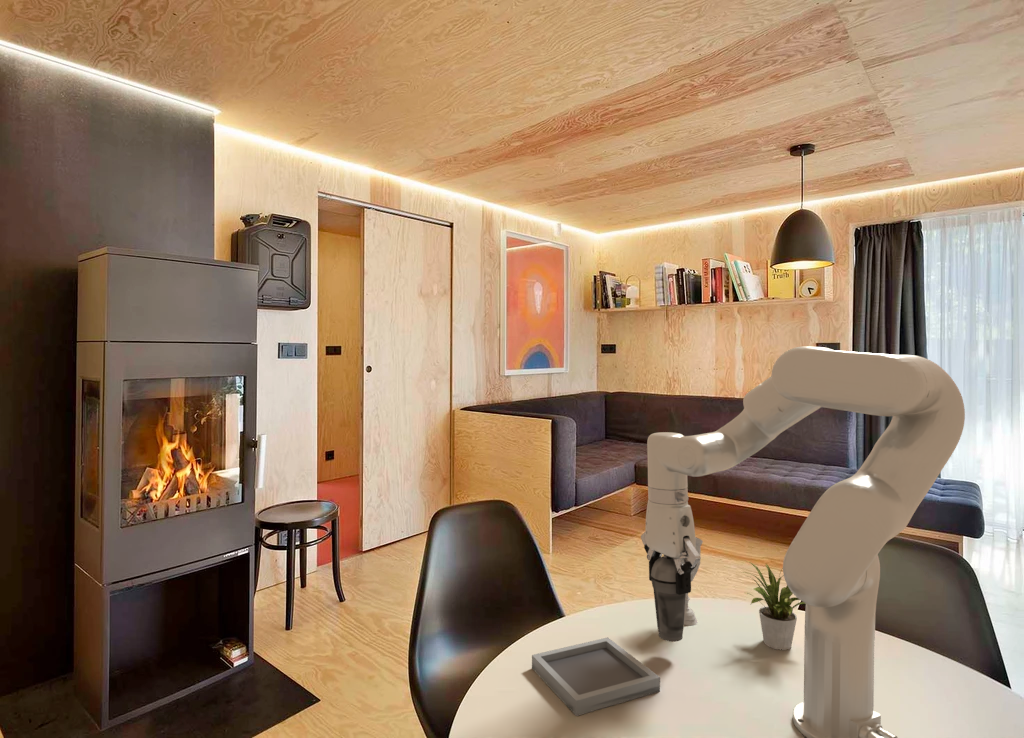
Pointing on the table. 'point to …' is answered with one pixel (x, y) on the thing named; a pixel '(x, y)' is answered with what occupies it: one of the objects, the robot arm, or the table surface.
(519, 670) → the table surface
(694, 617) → the chalice
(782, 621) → the house plant
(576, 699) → the tray
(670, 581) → the beverage cup
